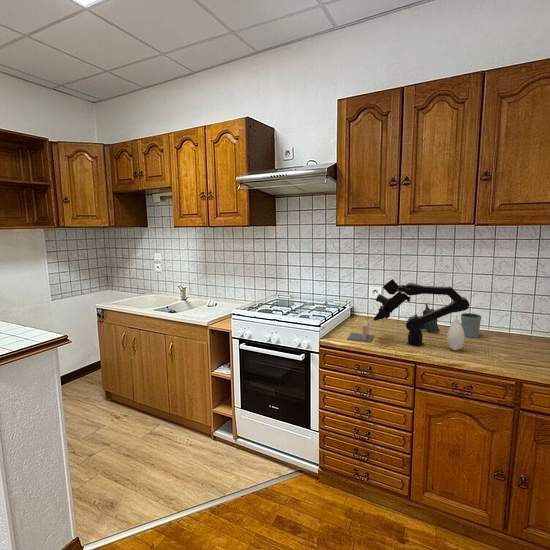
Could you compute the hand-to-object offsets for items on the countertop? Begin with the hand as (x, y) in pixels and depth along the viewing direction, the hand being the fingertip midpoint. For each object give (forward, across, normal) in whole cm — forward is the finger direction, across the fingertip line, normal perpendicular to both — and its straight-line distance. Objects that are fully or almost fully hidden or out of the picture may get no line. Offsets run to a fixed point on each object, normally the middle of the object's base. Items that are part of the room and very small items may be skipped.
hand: (374, 319), depth 192 cm
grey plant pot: (-27, -26, +43) cm, 57 cm away
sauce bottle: (-20, +2, +37) cm, 42 cm away
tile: (+11, 0, +5) cm, 12 cm away
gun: (-10, -26, +27) cm, 39 cm away
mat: (+13, 0, +3) cm, 14 cm away
